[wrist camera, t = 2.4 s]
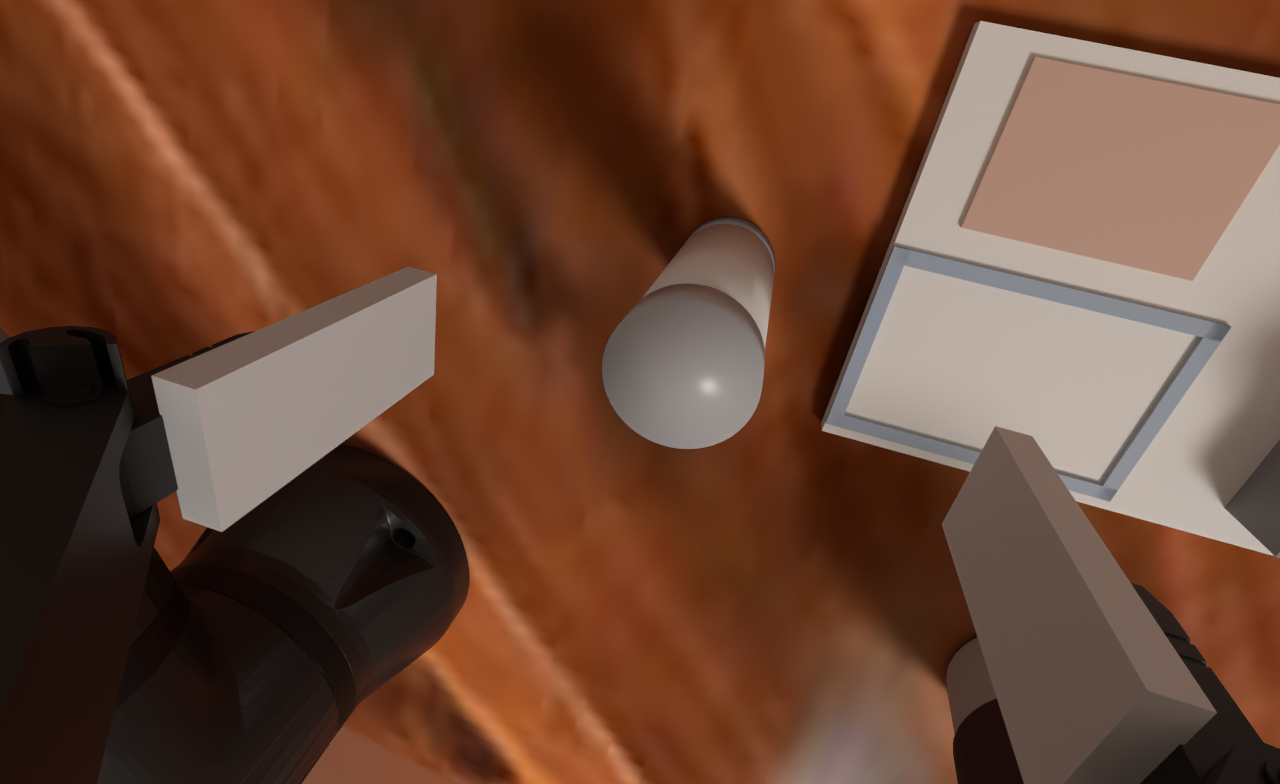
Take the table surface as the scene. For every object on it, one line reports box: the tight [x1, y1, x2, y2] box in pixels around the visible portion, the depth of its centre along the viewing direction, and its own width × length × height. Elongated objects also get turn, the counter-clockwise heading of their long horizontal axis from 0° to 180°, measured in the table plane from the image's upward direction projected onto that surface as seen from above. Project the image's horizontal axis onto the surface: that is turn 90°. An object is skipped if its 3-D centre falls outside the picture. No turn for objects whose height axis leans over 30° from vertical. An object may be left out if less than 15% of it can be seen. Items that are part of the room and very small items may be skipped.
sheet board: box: [821, 21, 1280, 558], centre depth 21 cm, size 22×16×4 cm
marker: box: [602, 217, 775, 449], centre depth 21 cm, size 4×4×12 cm
